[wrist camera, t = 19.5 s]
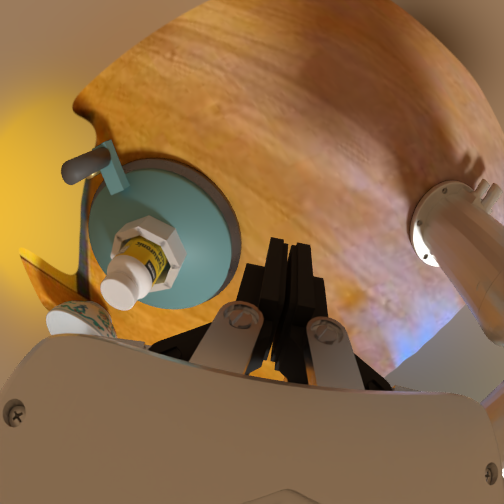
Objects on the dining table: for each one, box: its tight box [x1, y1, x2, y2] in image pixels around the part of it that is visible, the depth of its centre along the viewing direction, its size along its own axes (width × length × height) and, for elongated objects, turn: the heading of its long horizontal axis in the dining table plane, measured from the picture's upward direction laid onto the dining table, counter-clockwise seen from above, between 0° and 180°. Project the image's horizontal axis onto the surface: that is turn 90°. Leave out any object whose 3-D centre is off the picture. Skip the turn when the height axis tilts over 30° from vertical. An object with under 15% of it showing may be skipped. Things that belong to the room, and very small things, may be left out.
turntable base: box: [86, 158, 242, 300], centre depth 33 cm, size 22×23×5 cm
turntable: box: [61, 140, 232, 309], centre depth 30 cm, size 24×20×9 cm
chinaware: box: [46, 301, 117, 338], centre depth 42 cm, size 15×15×8 cm
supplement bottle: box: [100, 235, 168, 310], centre depth 29 cm, size 5×5×10 cm
